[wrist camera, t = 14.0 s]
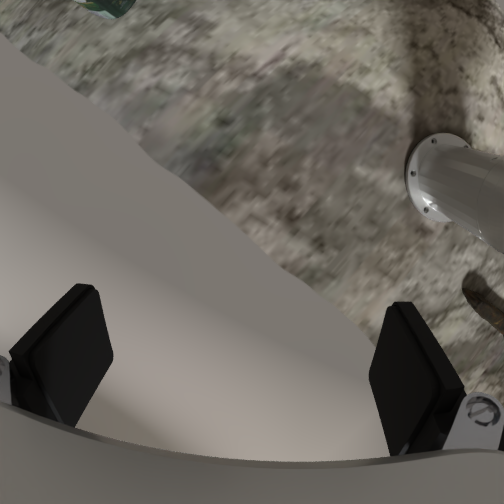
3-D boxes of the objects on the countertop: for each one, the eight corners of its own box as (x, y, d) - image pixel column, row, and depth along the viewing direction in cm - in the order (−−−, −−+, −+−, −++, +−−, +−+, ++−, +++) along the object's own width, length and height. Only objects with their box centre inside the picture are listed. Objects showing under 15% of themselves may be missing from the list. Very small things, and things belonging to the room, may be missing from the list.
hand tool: (514, 319, 47) (526, 332, 42) (502, 334, 48) (513, 348, 44) (470, 274, 44) (484, 287, 40) (456, 293, 45) (468, 307, 41)
